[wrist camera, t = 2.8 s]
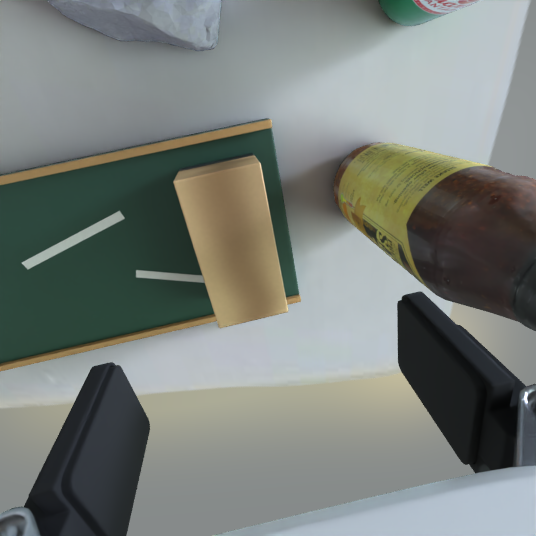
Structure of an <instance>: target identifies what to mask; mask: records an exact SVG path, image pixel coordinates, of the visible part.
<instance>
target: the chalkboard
mask: <svg viewBox="0 0 536 536" xmlns="http://www.w3.org/2000/svg"><path fill="white" fill-rule="evenodd" d="M250 153H253V154H254V155H255V157H256V158H257V159H258V161H259V162H260V163H261V168H262V173H263V179H264V184H265V189H266V195H267V200H268V205H269V210H270V216H271V221H272V226H273V232H274V237H275V242H276V248H277V253H278V258H279V264H280V269H281V274H282V280H283V285H284V290H285V295H286V301H287V305H288V304H292V303H297V302H301V298H300V295H299V290H298V284H297V278H296V272H295V266H294V260H293V254H292V248H291V242H290V236H289V230H288V224H287V218H286V212H285V206H284V200H283V193H282V187H281V181H280V175H279V169H278V163H277V157H276V151H275V145H274V139H273V133H272V122H271V119H262V120H257V121H253V122H248V123H243V124H238V125H234V126H229V127H224V128H220V129H215V130H210V131H205V132H201V133H196V134H191V135H186V136H182V137H177V138H172V139H167V140H163V141H158V142H153V143H148V144H144V145H139V146H134V147H129V148H125V149H120V150H115V151H110V152H106V153H101V154H96V155H91V156H87V157H82V158H77V159H72V160H68V161H63V162H58V163H53V164H49V165H44V166H39V167H34V168H30V169H25V170H20V171H16V172H11V173H6V174H1V175H0V371H4V370H8V369H13V368H17V367H21V366H25V365H30V364H34V363H38V362H43V361H47V360H51V359H56V358H60V357H64V356H68V355H73V354H77V353H81V352H86V351H90V350H94V349H99V348H103V347H107V346H112V345H116V344H120V343H124V342H129V341H133V340H137V339H142V338H146V337H150V336H155V335H159V334H163V333H168V332H172V331H176V330H180V329H185V328H189V327H193V326H198V325H202V324H206V323H211V322H215V321H217V320H216V317H215V314H214V310H213V307H212V304H211V301H210V298H209V295H208V291H207V288H206V285H205V282H204V279H203V275H202V272H201V269H200V266H199V263H198V260H197V256H196V253H195V250H194V247H193V244H192V240H191V237H190V234H189V231H188V228H187V225H186V221H185V218H184V215H183V212H182V209H181V206H180V202H179V199H178V196H177V193H176V190H175V186H174V183H173V181H174V179H175V177H176V175H177V173H178V171H179V169H181V168H185V167H190V166H194V165H199V164H204V163H208V162H213V161H218V160H222V159H227V158H232V157H236V156H241V155H245V154H250Z"/></svg>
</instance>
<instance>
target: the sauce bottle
mask: <svg viewBox="0 0 536 536" xmlns="http://www.w3.org/2000/svg"><path fill="white" fill-rule="evenodd" d="M333 191H334V196H335V202H336V204H337V206H338V207H339V208H340V210H341V212H342V213H343V215H344V216H345V218H346V219H347V220H348V221H349V222H350V223H351V224H352V225H354V226H355V227H356V228H357V229H358V230H360V231H361V232H362V233H363V234H364V235H365V236H367V237H368V238H369V239H370V240H371V241H372V242H374V243H375V244H376V245H377V246H378V247H379V248H381V249H382V250H383V251H384V252H385V253H386V254H387V255H389V256H390V257H391V258H392V259H393V260H394V261H396V262H397V263H399V264H400V265H401V266H402V267H403V268H404V269H406V270H407V271H408V272H409V273H410V274H412V275H413V276H414V277H415V278H416V279H417V280H418V281H419V282H421V283H422V284H424V285H425V286H426V287H427V288H428V289H430V290H431V291H432V292H433V293H435V294H436V295H437V296H439V297H441V298H443V299H445V300H448V301H452V302H455V303H459V304H463V305H466V306H470V307H473V308H476V309H480V310H484V311H487V312H490V313H494V314H497V315H500V316H503V317H506V318H509V319H512V320H515V321H518V322H520V323H522V324H523V325H524V326H526V327H528V328H530V329H532V330H534V331H536V180H535V179H533V178H529V177H526V176H514V175H512V174H509V173H505V172H502V171H500V170H498V169H495V168H494V167H492V166H488V165H484V164H480V163H475V162H471V161H467V160H463V159H459V158H455V157H450V156H446V155H442V154H438V153H434V152H430V151H425V150H421V149H417V148H413V147H409V146H404V145H399V144H395V143H371V144H369V145H365V146H363V147H360V148H357V149H356V150H354V151H353V152H352V153H351V154H350V155H348V156H347V157H346V159H345V160H344V161H343V162H342V164H341V165H340V167H339V169H338V171H337V173H336V176H335V179H334V186H333Z"/></svg>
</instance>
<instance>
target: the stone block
mask: <svg viewBox="0 0 536 536" xmlns="http://www.w3.org/2000/svg"><path fill="white" fill-rule="evenodd" d="M47 1H48V2H49V3H50V4H51V5H53V6H54V7H55V8H57V9H58V10H59V11H60V12H61V13H62V14H63V15H65V16H66V17H68V18H70V19H72V20H74V21H76V22H79V23H80V24H82V25H84V26H87V27H91V28H93V29H95V30H97V31H99V32H102V33H103V34H104V35H106V36H110V37H112V38H114V39H117V40H119V41H133V40H137V41H157V42H166V43H168V44H171V45H175V46H180V47H183V48H187V49H191V50H195V51H204V50H210V49H214V47H215V46H216V45H217V42H218V33H219V23H220V12H221V1H222V0H47Z"/></svg>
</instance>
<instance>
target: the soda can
mask: <svg viewBox="0 0 536 536" xmlns="http://www.w3.org/2000/svg"><path fill="white" fill-rule="evenodd" d="M480 1H482V0H379V3H380V5H381V8H382V9H383V11H384V12H385V14H386V15H387V16H388V17H389V18H390V19H391V20H393V21H394V22H396V23H398V24H400V25H404V26H416V25H420V24H422V23H425V22H427V21H430V20H433V19H435V18H438V17H440V16H443V15H446V14H448V13H451V12H453V11H456V10H459V9H461V8H464V7H467V6H469V5H472V4H474V3H477V2H480Z"/></svg>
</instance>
